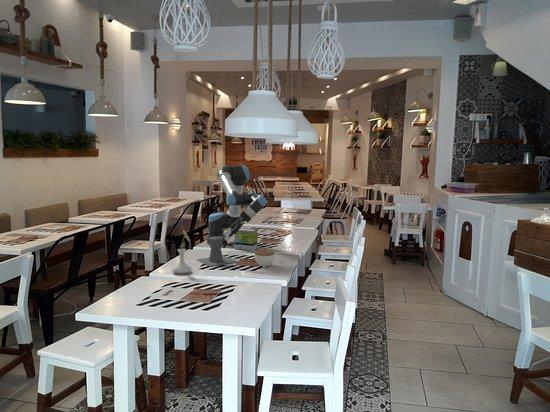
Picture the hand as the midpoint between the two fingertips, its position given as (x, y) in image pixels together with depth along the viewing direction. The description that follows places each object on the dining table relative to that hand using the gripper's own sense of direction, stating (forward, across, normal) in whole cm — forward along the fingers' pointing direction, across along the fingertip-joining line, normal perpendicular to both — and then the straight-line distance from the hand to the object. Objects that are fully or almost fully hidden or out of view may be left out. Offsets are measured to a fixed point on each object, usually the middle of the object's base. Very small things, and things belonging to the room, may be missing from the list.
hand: (224, 237), depth 281 cm
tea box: (0, +36, -24) cm, 43 cm away
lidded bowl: (-6, -14, -28) cm, 32 cm away
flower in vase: (+29, -23, +7) cm, 38 cm away
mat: (+15, 0, -7) cm, 16 cm away
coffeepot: (+14, +1, -7) cm, 16 cm away
